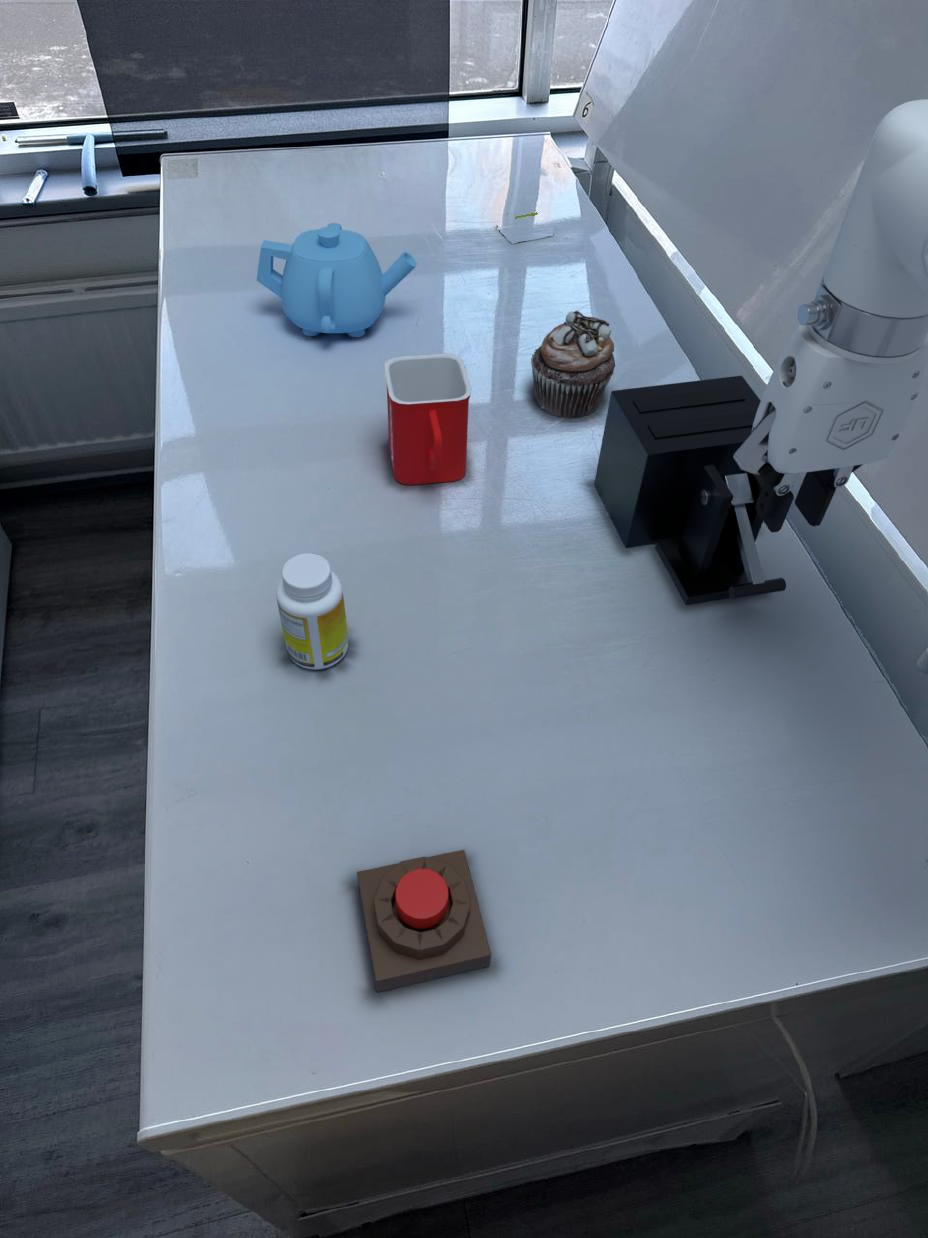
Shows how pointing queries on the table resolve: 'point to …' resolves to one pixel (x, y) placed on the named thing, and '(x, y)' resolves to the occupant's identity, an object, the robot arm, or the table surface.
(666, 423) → the toaster
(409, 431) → the mug
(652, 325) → the table surface
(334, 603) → the supplement bottle
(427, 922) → the red button
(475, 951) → the button block
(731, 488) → the toaster lever
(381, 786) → the table surface
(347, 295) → the teapot
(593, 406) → the cupcake
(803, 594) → the table surface
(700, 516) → the lever bracket
